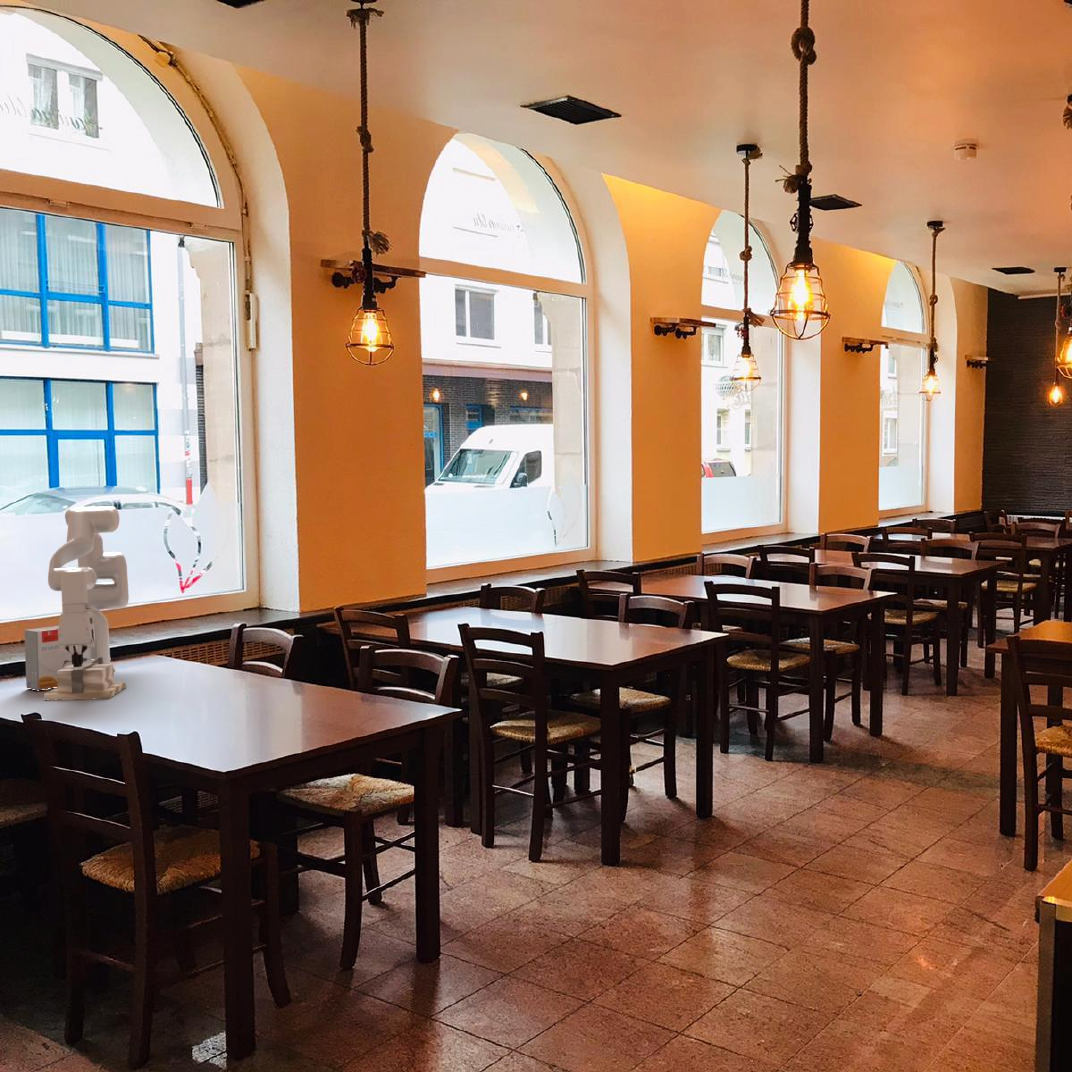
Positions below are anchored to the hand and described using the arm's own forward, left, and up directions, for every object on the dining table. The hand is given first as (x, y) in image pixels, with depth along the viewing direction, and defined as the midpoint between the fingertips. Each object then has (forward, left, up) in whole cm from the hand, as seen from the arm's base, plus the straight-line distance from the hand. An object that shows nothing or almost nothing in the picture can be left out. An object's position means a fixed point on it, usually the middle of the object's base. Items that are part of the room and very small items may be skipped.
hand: (77, 666), depth 357 cm
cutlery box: (-6, 0, -10) cm, 12 cm away
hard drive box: (-19, -15, -10) cm, 27 cm away
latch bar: (-6, 0, -1) cm, 6 cm away
